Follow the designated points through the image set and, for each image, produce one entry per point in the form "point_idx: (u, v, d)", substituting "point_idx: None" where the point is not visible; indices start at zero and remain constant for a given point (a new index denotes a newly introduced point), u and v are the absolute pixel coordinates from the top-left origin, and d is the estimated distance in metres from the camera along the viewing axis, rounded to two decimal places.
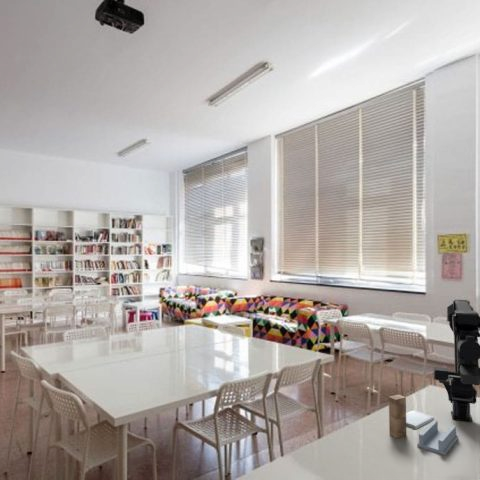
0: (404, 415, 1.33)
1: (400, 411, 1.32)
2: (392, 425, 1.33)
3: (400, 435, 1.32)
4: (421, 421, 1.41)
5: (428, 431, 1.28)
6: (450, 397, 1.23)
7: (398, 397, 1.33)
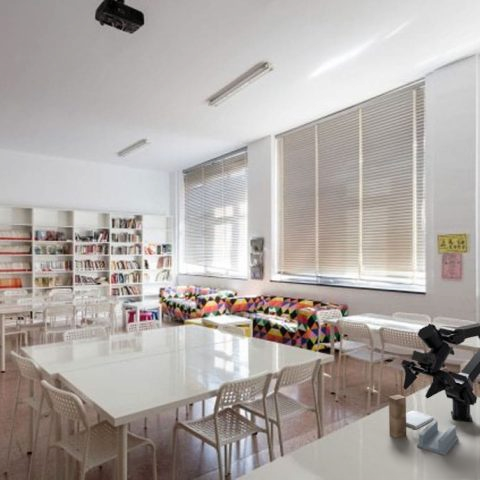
0: (404, 415, 1.33)
1: (400, 411, 1.32)
2: (392, 425, 1.33)
3: (400, 435, 1.32)
4: (421, 421, 1.41)
5: (428, 431, 1.28)
6: (405, 382, 1.42)
7: (398, 397, 1.33)
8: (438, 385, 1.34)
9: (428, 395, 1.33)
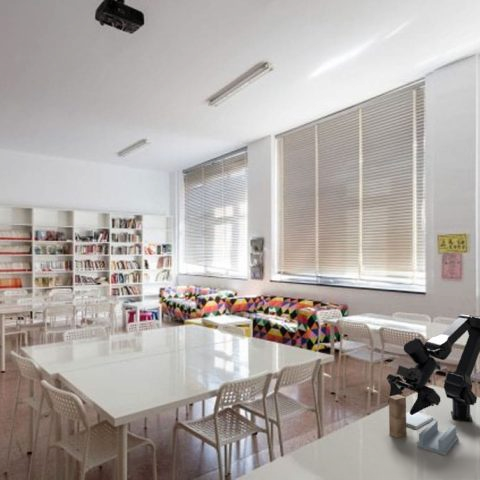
0: (404, 415, 1.33)
1: (400, 411, 1.32)
2: (392, 425, 1.33)
3: (400, 435, 1.32)
4: (421, 421, 1.41)
5: (428, 431, 1.28)
6: None
7: (398, 397, 1.33)
8: (423, 402, 1.31)
9: (412, 412, 1.30)
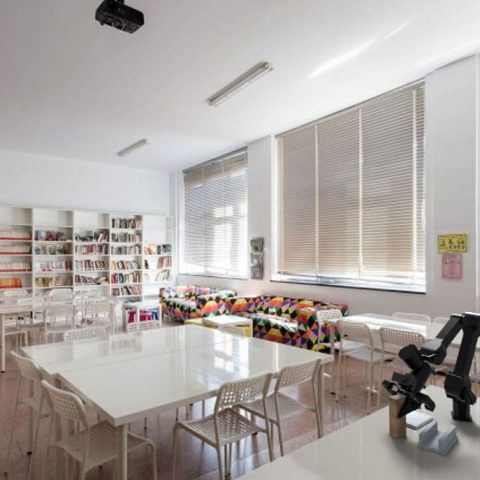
0: None
1: None
2: (392, 425, 1.33)
3: (400, 435, 1.32)
4: (421, 421, 1.41)
5: (428, 431, 1.28)
6: None
7: (398, 397, 1.33)
8: (410, 405, 1.32)
9: (400, 415, 1.31)
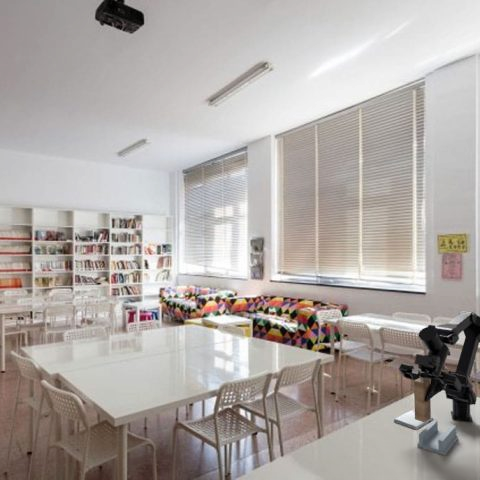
0: None
1: None
2: (419, 410, 1.28)
3: (426, 419, 1.28)
4: None
5: (428, 431, 1.28)
6: None
7: (423, 380, 1.30)
8: (435, 387, 1.29)
9: (427, 398, 1.28)
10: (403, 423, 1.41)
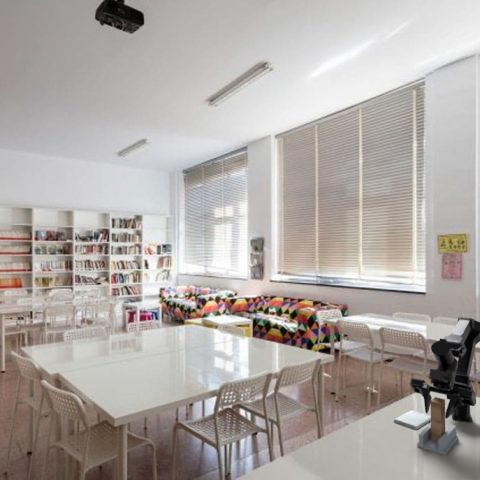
0: (444, 418, 1.28)
1: (442, 414, 1.27)
2: (435, 431, 1.26)
3: None
4: (421, 421, 1.41)
5: (428, 431, 1.28)
6: (425, 405, 1.30)
7: (439, 400, 1.28)
8: (454, 403, 1.28)
9: (448, 415, 1.25)
10: (403, 423, 1.41)
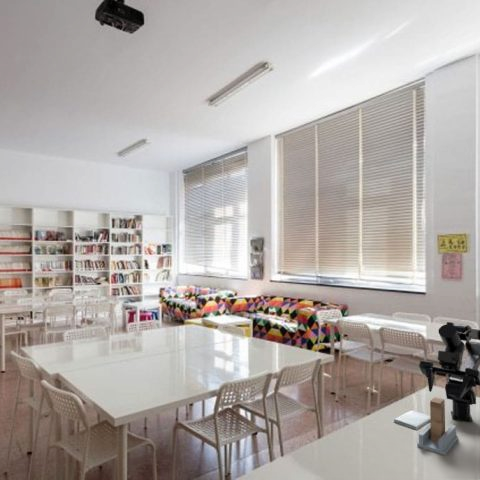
0: (444, 418, 1.28)
1: (442, 414, 1.27)
2: (435, 431, 1.26)
3: None
4: (421, 421, 1.41)
5: (428, 431, 1.28)
6: (429, 384, 1.38)
7: (439, 400, 1.28)
8: (467, 384, 1.33)
9: (461, 395, 1.31)
10: (403, 423, 1.41)
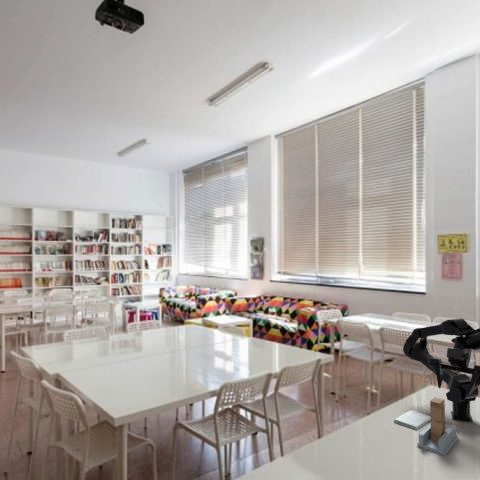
0: (444, 418, 1.28)
1: (442, 414, 1.27)
2: (435, 431, 1.26)
3: None
4: (421, 421, 1.41)
5: (428, 431, 1.28)
6: (438, 381, 1.40)
7: (439, 400, 1.28)
8: (475, 381, 1.35)
9: (470, 391, 1.33)
10: (403, 423, 1.41)
